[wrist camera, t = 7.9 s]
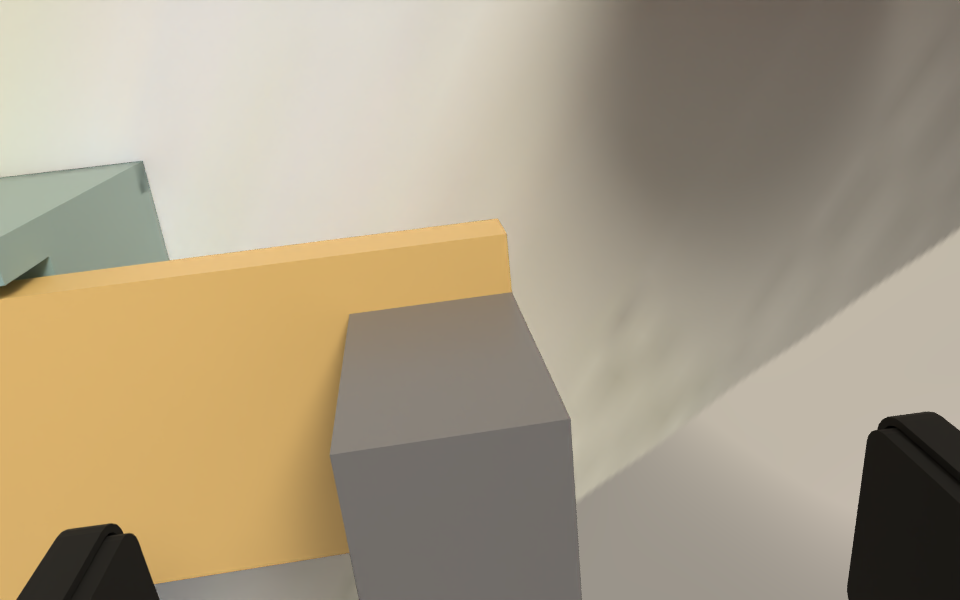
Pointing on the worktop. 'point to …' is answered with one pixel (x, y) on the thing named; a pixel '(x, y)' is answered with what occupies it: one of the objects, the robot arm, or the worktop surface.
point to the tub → (77, 221)
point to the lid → (294, 417)
